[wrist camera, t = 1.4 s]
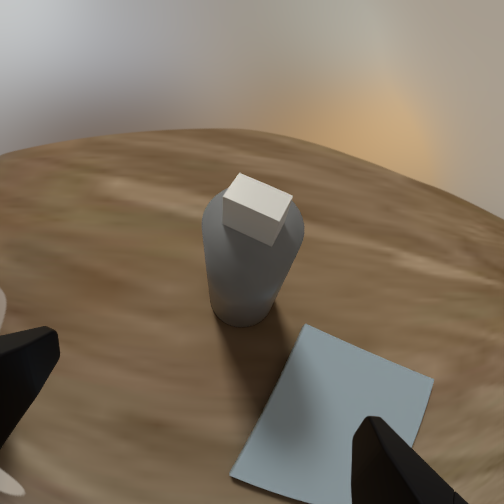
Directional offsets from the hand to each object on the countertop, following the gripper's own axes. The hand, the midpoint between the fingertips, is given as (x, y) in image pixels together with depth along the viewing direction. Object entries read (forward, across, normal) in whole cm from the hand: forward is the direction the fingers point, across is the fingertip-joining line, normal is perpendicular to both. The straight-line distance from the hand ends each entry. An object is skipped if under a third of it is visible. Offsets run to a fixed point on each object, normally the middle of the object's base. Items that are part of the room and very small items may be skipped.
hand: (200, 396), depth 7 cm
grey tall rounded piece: (+15, 0, +4) cm, 15 cm away
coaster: (+9, -9, +10) cm, 16 cm away
